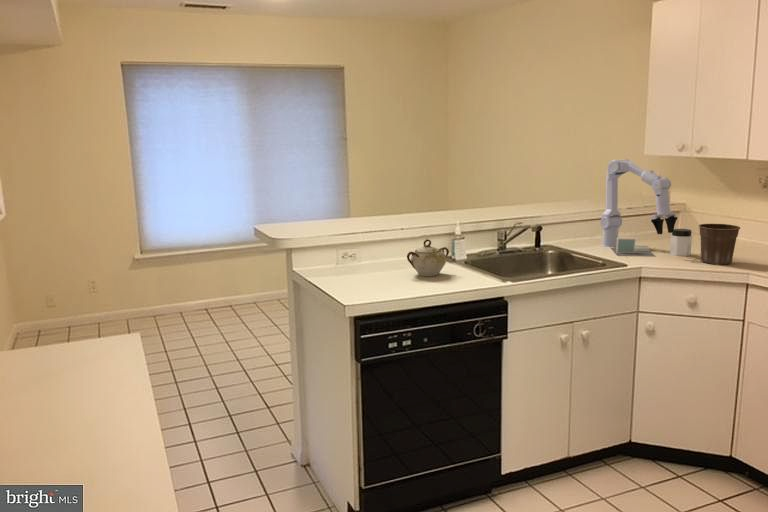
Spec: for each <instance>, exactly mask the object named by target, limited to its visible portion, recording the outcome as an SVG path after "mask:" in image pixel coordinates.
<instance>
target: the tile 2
mask: <svg viewBox="0 0 768 512" xmlns="http://www.w3.org/2000/svg"><path fill="white" fill-rule="evenodd" d="M635 251H650V252H651V247H650V246H648V245H635Z"/></svg>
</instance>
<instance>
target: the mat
mask: <svg viewBox="0 0 768 512" xmlns="http://www.w3.org/2000/svg"><path fill="white" fill-rule="evenodd" d="M610 249H611V251H613V253H614V254H615V255H616V256H617V257H644V258H645V257H646V258H647V257H651V258H653V257H655V258H657V256H656V254H654V253H653V252H651V250H650V251H635V253H617V252H616V249H617V247H610Z"/></svg>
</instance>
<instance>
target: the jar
mask: <svg viewBox="0 0 768 512" xmlns="http://www.w3.org/2000/svg"><path fill="white" fill-rule="evenodd" d="M692 242H693V236H692V229H688V228H674V230H673V233H671V235H670V244H669V245H670V247H669V255H672V256H677V257H680V256H681V257H687V256H691V255H692V254H691V253H692V244H693V243H692Z"/></svg>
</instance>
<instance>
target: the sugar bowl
mask: <svg viewBox="0 0 768 512" xmlns="http://www.w3.org/2000/svg"><path fill="white" fill-rule="evenodd" d="M427 242H428V244H426V243H427ZM431 245H432V241H431V240H430V239H429V238H426V239H425V240H424V241H423V246H422V247H420V248H418V249H415V250H414V251H409V252H408V253H407V255H406V260H407V261H408V263H409V264H410V265H411V266H412V268H413V269H414V270H415V271H416V272H417V274H418V275H419V276H421V277H436V276H439V274H440V273H441V271H442V269H443V268H444V267H445V265H446V263H447V258H448V257H449V254H450V251H449V248H447V247H446V246H444V247H443V246H442V247H440V248H437V247H434V246H431ZM445 251H446V254H445Z"/></svg>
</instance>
